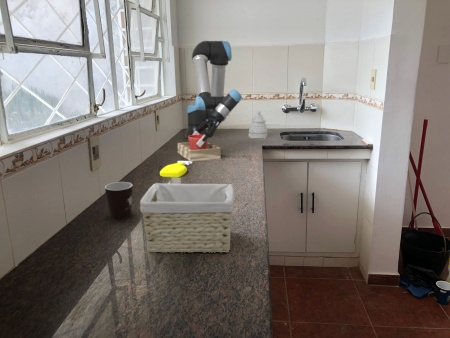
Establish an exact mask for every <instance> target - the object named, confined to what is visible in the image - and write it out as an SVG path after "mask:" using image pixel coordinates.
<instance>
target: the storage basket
mask: <svg viewBox="0 0 450 338" xmlns="http://www.w3.org/2000/svg"><path fill="white" fill-rule="evenodd" d="M235 192H236V191H235V187H234V185H233V184H231V183H227V184H225V183H224V184H223V183H159V182H156V183H154V184H152V185H151V186H150V187H149V188H148V190H147V191H146V192H145V193H144V195H143V196H142V198H141V199H140V201H139V205H140V206H139V207H140V212H141V213H142V216H143V224H144V232H145V239H146V246H147V250H148V252H149V253H156V252H162V253H167V252H169V253H175V252H181V253H183V252H184V253H185V252H188V253H193V252H203V253H206V252H209V253H210V252H211V253H213V252H214V253H216V252H220V253H222V252H226V253H229V252H230V251H229V250H231V228H232V227H231V226H232V225H231V224H232V217H233V211H234V208H235V207H234V204H235V195H236V194H235Z"/></svg>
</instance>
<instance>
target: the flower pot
mask: <svg viewBox="0 0 450 338" xmlns="http://www.w3.org/2000/svg"><path fill="white" fill-rule="evenodd" d="M202 137H203V135H190V136H188V138H189V139H188V142H189V144H190V150H201V149H206V146H207V142H208V139H209V138H208V139H207V140H206V141H205V142H204V143H203V145H202V146H201V147H199V146H198V145H197V144H196V143H197V142H198V141H199V140H200V139H201V138H202Z"/></svg>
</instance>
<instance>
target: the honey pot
mask: <svg viewBox="0 0 450 338" xmlns="http://www.w3.org/2000/svg"><path fill="white" fill-rule="evenodd" d="M261 113H262V112H261V111H260V110H259V111H256V114H255V115H254V116H253V119H251V123H250V126H249V128H248V138H249V137H250V139H253V138H264V139H267V138H268V128H267V124H266V122H267V120H266V119H264V116H263V114H261ZM266 137H267V138H266Z"/></svg>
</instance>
